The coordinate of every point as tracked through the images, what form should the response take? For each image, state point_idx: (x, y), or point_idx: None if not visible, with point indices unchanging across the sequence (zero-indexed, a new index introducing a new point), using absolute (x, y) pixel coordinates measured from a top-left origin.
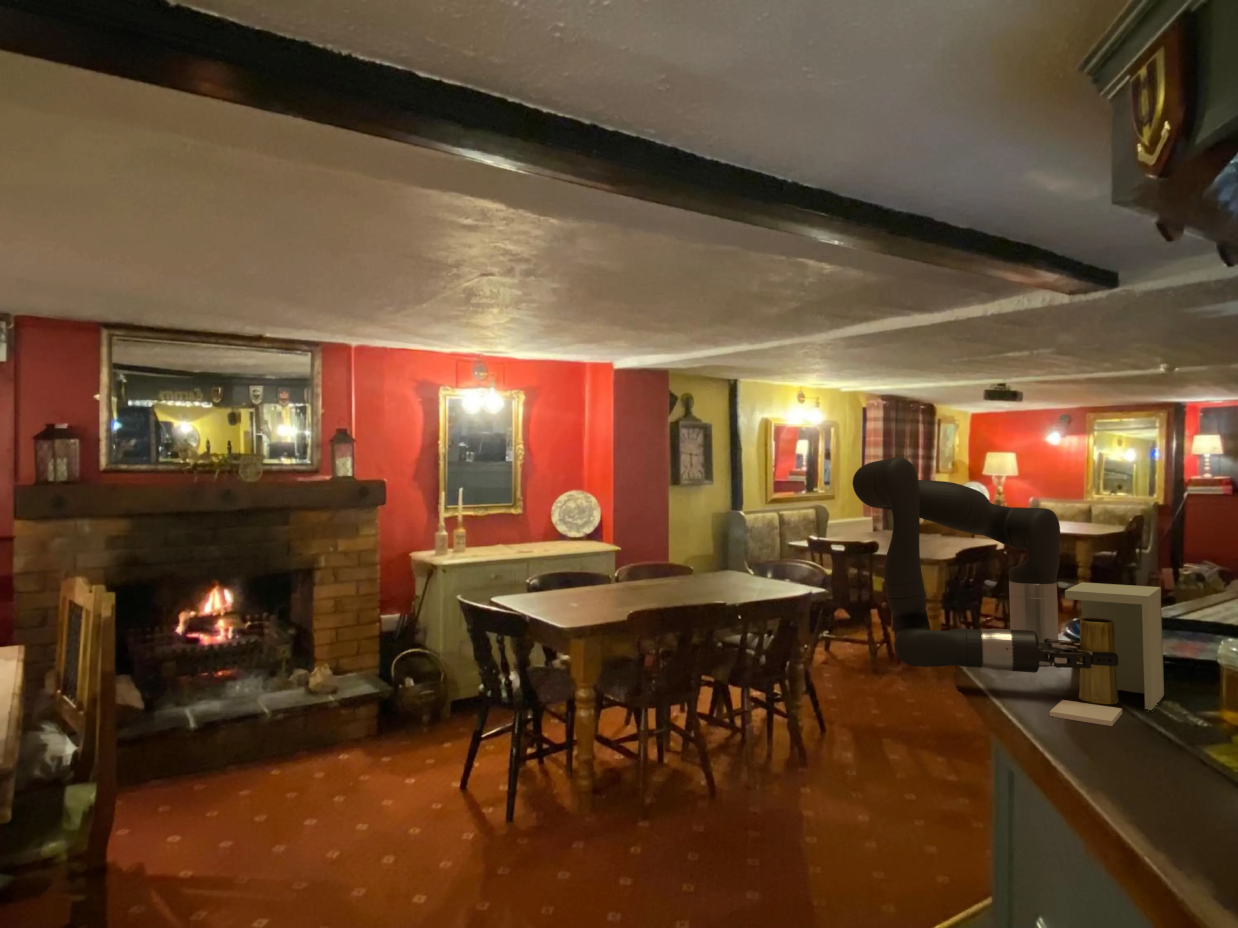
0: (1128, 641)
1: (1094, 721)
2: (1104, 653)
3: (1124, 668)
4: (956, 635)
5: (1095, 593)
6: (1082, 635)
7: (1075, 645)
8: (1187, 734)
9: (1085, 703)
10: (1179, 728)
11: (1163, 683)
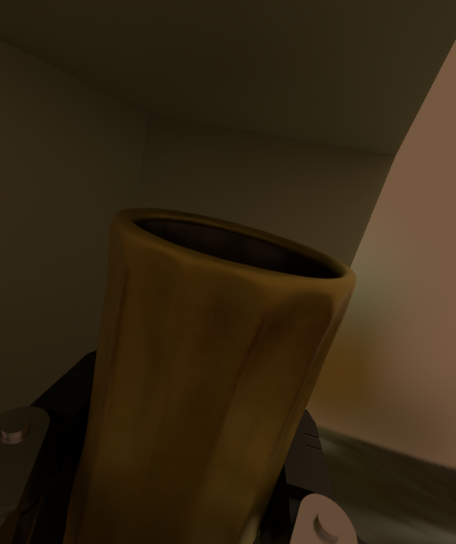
0: (67, 269)
1: None
2: (303, 435)
3: (47, 356)
4: None
5: None
6: (234, 429)
7: (16, 513)
8: (443, 490)
9: None
10: (399, 481)
11: None
